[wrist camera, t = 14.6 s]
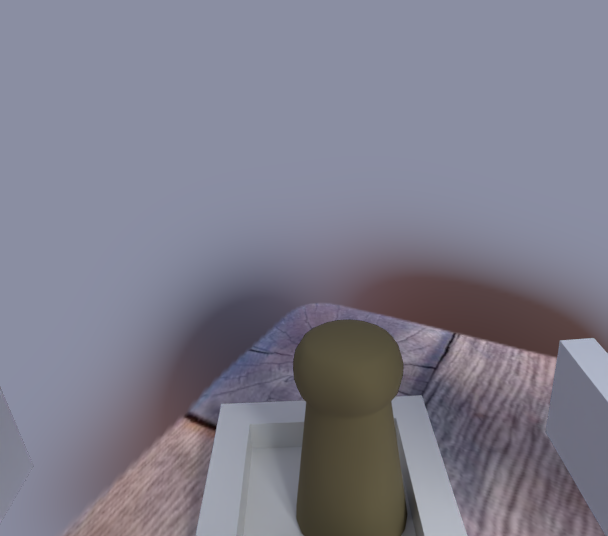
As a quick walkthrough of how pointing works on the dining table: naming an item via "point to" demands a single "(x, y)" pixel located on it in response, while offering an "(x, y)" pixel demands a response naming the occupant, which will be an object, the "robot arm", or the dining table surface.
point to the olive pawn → (349, 432)
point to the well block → (286, 467)
